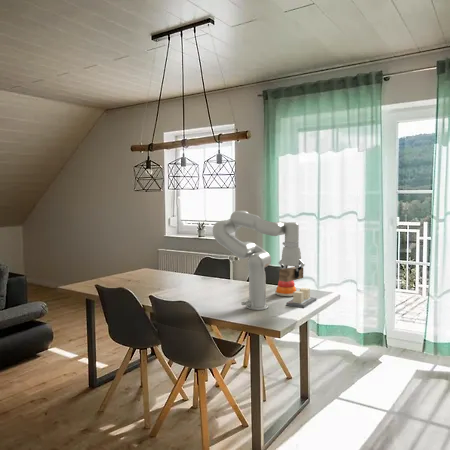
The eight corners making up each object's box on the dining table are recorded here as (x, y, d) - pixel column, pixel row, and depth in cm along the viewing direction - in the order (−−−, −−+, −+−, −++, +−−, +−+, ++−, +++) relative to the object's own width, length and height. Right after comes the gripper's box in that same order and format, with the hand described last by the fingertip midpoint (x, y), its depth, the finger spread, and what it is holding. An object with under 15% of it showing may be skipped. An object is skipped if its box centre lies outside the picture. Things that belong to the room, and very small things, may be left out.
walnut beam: (286, 281, 231) (286, 270, 231) (279, 280, 235) (279, 269, 234) (303, 278, 242) (303, 267, 241) (296, 276, 245) (296, 266, 245)
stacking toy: (279, 291, 290) (279, 262, 288) (300, 293, 283) (300, 264, 282) (271, 295, 277) (271, 265, 276) (292, 298, 270) (293, 267, 269)
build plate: (304, 307, 248) (304, 294, 247) (286, 305, 253) (286, 292, 253) (316, 300, 264) (316, 288, 264) (299, 298, 270) (299, 286, 270)
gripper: (274, 244, 238) (274, 277, 240) (303, 246, 229) (303, 280, 230) (280, 243, 245) (280, 274, 246) (309, 245, 235) (308, 277, 237)
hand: (291, 277), depth 238 cm, fingers closed on walnut beam, 5 cm apart
